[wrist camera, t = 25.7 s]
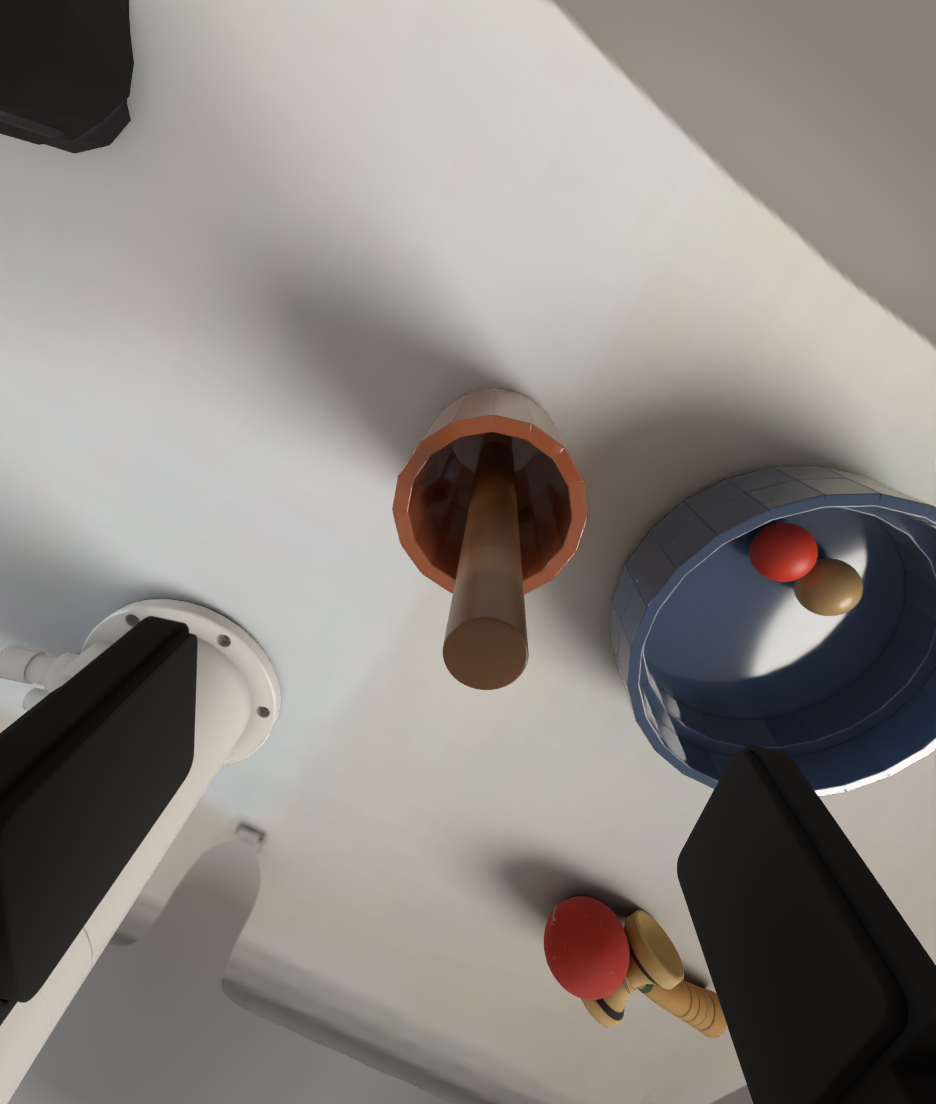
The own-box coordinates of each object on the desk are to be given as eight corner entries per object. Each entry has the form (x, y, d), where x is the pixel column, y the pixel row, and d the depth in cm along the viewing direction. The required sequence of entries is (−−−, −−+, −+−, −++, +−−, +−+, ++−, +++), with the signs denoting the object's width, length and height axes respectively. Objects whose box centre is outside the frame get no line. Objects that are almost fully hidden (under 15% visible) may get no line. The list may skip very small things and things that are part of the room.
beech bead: (844, 561, 26) (802, 541, 29) (807, 613, 27) (770, 589, 29) (890, 584, 26) (844, 562, 29) (853, 634, 27) (812, 609, 30)
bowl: (571, 696, 34) (583, 761, 29) (671, 428, 27) (709, 452, 22) (831, 754, 35) (888, 828, 30) (992, 505, 28) (1100, 545, 23)
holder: (414, 507, 30) (380, 577, 21) (439, 373, 27) (411, 395, 19) (541, 536, 30) (555, 617, 22) (579, 406, 27) (613, 442, 19)
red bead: (797, 588, 25) (769, 530, 26) (752, 593, 28) (727, 541, 28) (843, 563, 26) (815, 507, 26) (794, 571, 29) (769, 520, 29)
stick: (474, 471, 28) (435, 680, 12) (482, 437, 27) (452, 609, 11) (508, 479, 28) (516, 698, 12) (517, 445, 28) (538, 628, 11)
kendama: (742, 950, 44) (597, 870, 38) (771, 1053, 39) (609, 979, 33) (663, 969, 48) (519, 898, 42) (680, 1066, 43) (519, 1001, 37)
